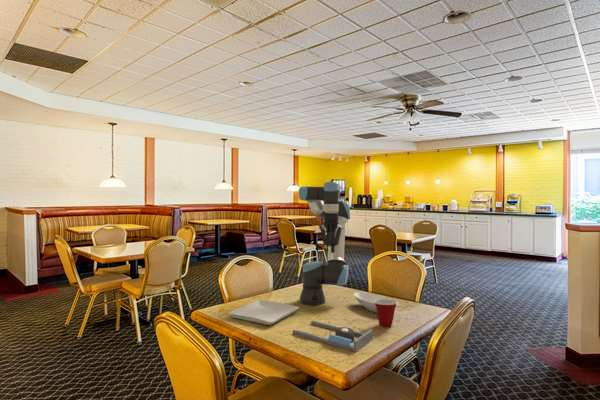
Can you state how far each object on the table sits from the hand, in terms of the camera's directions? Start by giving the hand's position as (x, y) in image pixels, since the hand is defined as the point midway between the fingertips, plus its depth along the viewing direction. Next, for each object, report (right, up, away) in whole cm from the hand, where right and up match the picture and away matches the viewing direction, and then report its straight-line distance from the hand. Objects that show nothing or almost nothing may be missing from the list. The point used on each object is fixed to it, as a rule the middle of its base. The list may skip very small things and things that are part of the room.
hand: (330, 258), depth 178 cm
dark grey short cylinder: (+4, -31, -26) cm, 40 cm away
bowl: (+26, -31, +16) cm, 43 cm away
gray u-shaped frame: (-2, -30, -22) cm, 38 cm away
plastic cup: (+26, -31, -9) cm, 41 cm away
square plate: (-34, -31, +5) cm, 46 cm away
